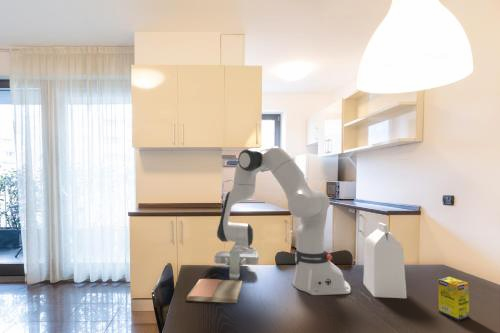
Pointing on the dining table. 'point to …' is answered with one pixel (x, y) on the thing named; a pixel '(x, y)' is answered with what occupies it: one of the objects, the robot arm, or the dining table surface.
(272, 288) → the dining table surface
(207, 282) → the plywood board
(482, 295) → the dining table surface
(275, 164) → the robot arm
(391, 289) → the milk
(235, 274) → the grey-green rectangular block
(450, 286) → the supplement box
